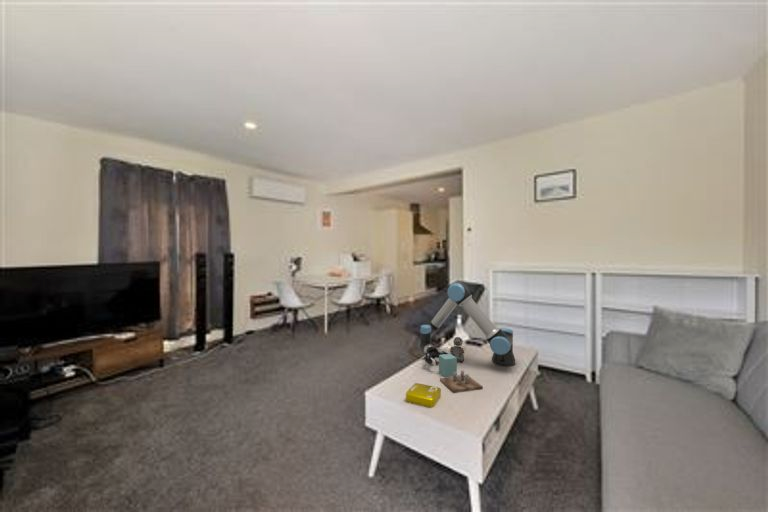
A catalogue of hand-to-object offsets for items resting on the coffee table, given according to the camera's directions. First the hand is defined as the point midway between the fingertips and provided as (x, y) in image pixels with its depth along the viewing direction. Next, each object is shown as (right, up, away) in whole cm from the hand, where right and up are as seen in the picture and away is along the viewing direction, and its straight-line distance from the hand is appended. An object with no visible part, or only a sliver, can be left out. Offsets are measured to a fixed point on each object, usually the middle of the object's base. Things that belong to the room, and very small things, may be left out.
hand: (445, 362), depth 198 cm
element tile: (-18, -8, -33) cm, 38 cm away
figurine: (+13, -6, +22) cm, 26 cm away
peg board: (+6, -7, -17) cm, 19 cm away
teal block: (+1, -7, -2) cm, 7 cm away
